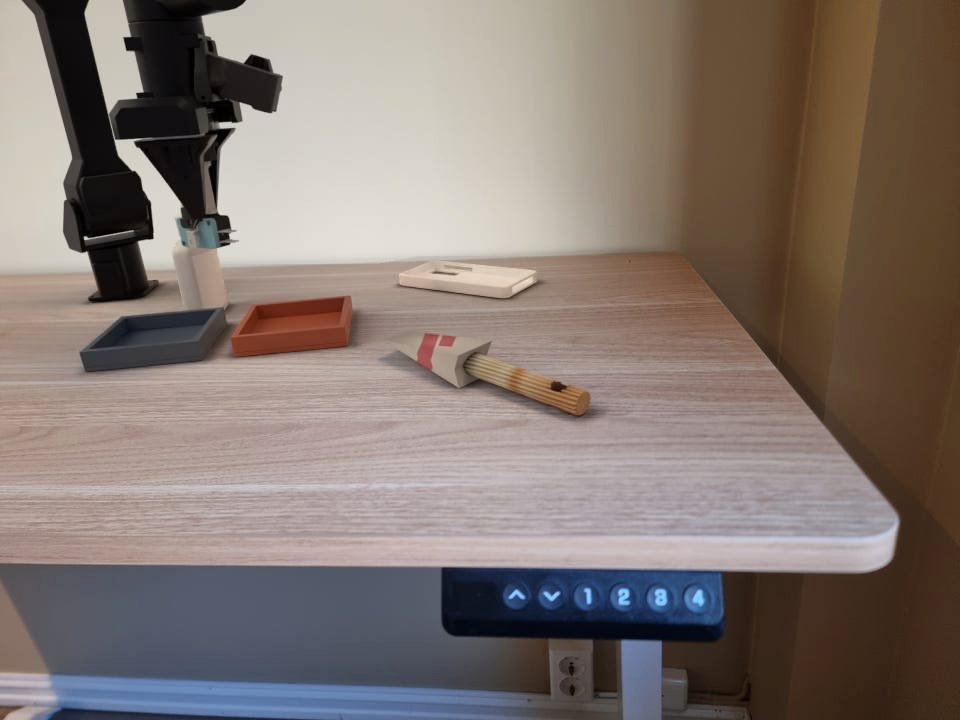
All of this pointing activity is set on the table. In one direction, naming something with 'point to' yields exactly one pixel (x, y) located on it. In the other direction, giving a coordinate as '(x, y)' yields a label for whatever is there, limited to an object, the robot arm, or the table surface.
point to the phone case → (469, 279)
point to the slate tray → (155, 339)
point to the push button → (206, 218)
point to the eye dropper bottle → (199, 276)
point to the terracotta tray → (294, 326)
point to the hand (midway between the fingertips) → (205, 214)
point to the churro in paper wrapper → (485, 368)
